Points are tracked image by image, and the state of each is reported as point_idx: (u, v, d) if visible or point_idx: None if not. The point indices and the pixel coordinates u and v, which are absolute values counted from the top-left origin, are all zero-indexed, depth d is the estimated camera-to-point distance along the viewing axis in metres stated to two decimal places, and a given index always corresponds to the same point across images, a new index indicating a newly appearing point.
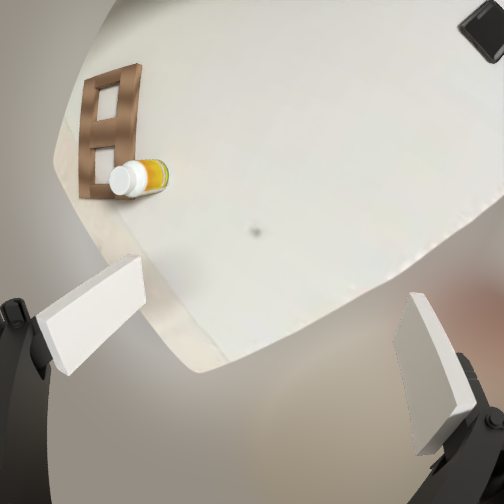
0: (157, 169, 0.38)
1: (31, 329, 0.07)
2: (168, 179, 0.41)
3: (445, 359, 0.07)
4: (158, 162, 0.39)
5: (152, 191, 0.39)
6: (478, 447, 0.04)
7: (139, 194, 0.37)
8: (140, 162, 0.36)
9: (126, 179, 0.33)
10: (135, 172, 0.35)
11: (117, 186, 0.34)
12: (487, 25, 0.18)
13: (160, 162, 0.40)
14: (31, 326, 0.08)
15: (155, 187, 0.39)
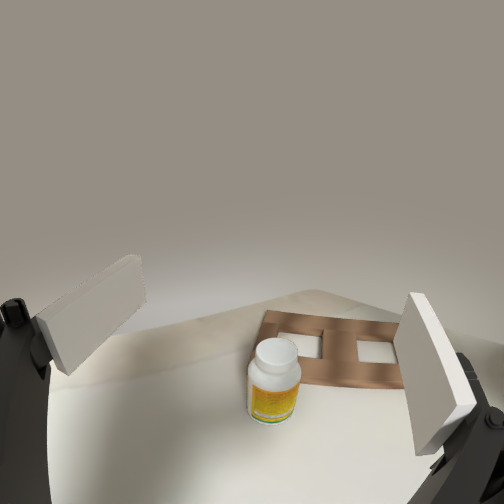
0: (280, 408, 0.25)
1: (31, 329, 0.07)
2: (261, 421, 0.26)
3: (445, 359, 0.07)
4: (289, 411, 0.26)
5: (249, 396, 0.26)
6: (478, 447, 0.04)
7: (249, 377, 0.25)
8: (295, 385, 0.25)
9: (276, 360, 0.24)
10: (283, 375, 0.24)
11: (269, 347, 0.26)
12: None
13: (288, 414, 0.26)
14: (31, 326, 0.08)
15: (253, 402, 0.26)
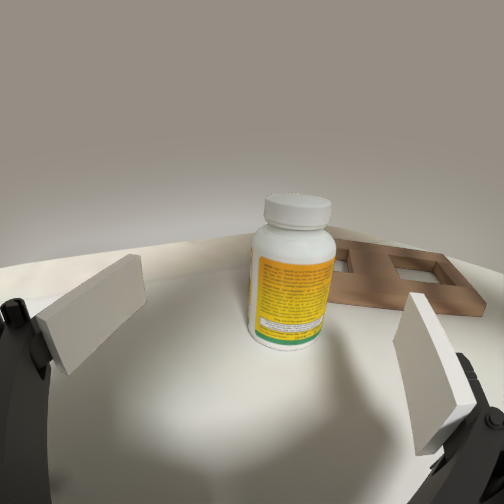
0: (304, 308, 0.16)
1: (31, 329, 0.07)
2: (271, 342, 0.18)
3: (445, 359, 0.07)
4: (317, 322, 0.17)
5: (253, 292, 0.18)
6: (478, 447, 0.04)
7: (255, 246, 0.17)
8: (330, 261, 0.16)
9: (299, 203, 0.15)
10: (310, 237, 0.16)
11: (286, 196, 0.17)
12: None
13: (315, 329, 0.18)
14: (31, 326, 0.08)
15: (260, 298, 0.17)
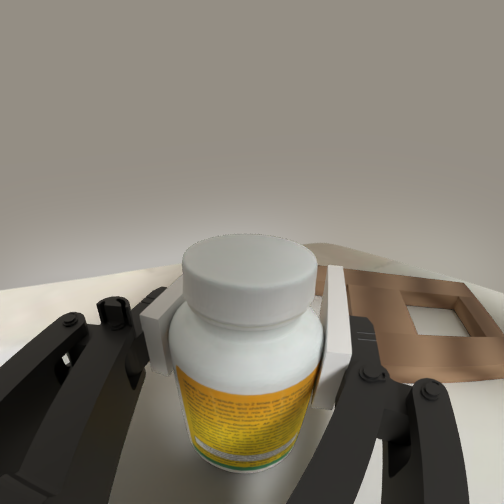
0: (260, 441, 0.08)
1: (132, 334, 0.08)
2: (216, 464, 0.09)
3: (333, 315, 0.09)
4: (287, 445, 0.09)
5: (181, 402, 0.09)
6: (355, 402, 0.06)
7: None
8: (309, 375, 0.08)
9: (242, 275, 0.07)
10: (269, 339, 0.07)
11: (227, 248, 0.09)
12: None
13: (285, 450, 0.09)
14: (132, 331, 0.08)
15: (189, 417, 0.09)
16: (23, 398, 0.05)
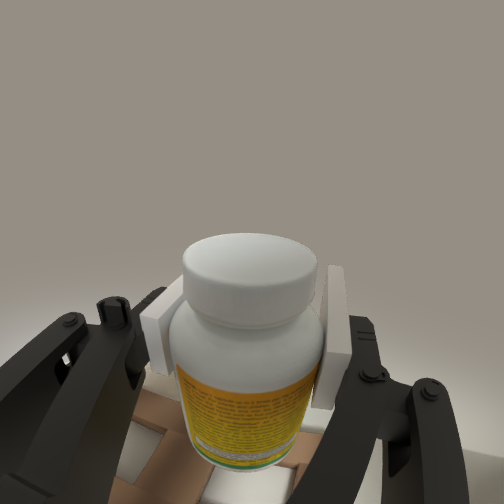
0: (260, 439, 0.08)
1: (132, 334, 0.08)
2: (216, 463, 0.09)
3: (333, 315, 0.09)
4: (287, 444, 0.09)
5: (181, 400, 0.09)
6: (355, 402, 0.06)
7: (170, 340, 0.09)
8: (309, 374, 0.08)
9: (242, 273, 0.07)
10: (268, 338, 0.07)
11: (227, 247, 0.09)
12: None
13: (284, 449, 0.10)
14: (132, 331, 0.08)
15: (189, 416, 0.09)
16: (23, 398, 0.05)
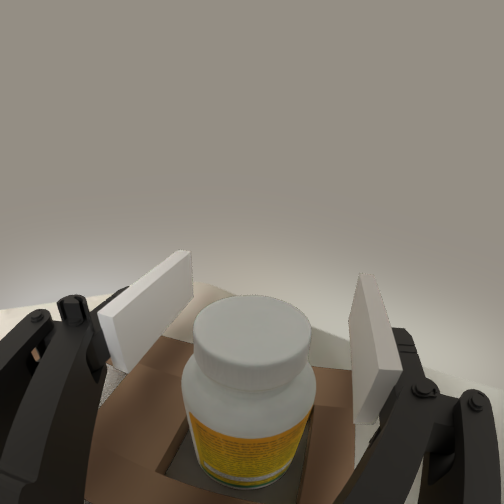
0: (260, 467, 0.09)
1: (90, 329, 0.08)
2: (221, 482, 0.10)
3: (377, 329, 0.08)
4: (283, 468, 0.10)
5: (191, 434, 0.10)
6: (406, 417, 0.05)
7: (183, 391, 0.09)
8: (302, 420, 0.09)
9: (246, 351, 0.08)
10: (268, 396, 0.08)
11: (232, 316, 0.10)
12: None
13: (281, 472, 0.10)
14: (91, 326, 0.08)
15: (199, 448, 0.10)
16: (0, 391, 0.05)
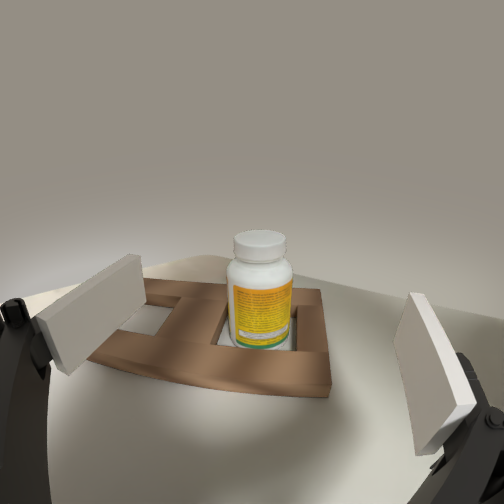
0: (271, 320, 0.21)
1: (31, 329, 0.07)
2: (249, 347, 0.23)
3: (445, 359, 0.07)
4: (283, 329, 0.23)
5: (231, 310, 0.23)
6: (478, 447, 0.03)
7: (229, 276, 0.22)
8: (288, 283, 0.21)
9: (259, 243, 0.20)
10: (270, 267, 0.21)
11: (250, 235, 0.22)
12: None
13: (283, 334, 0.23)
14: (31, 326, 0.08)
15: (237, 316, 0.22)
16: None
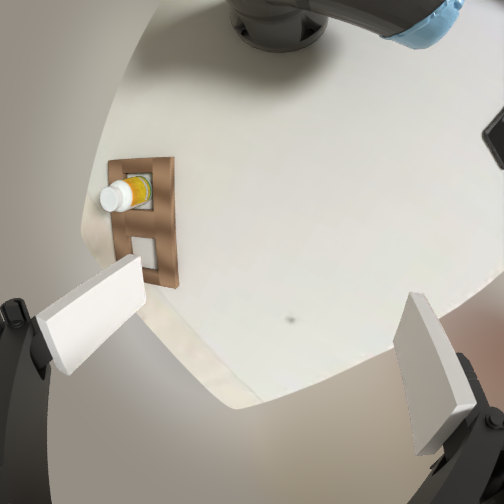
0: (140, 186, 0.44)
1: (31, 329, 0.07)
2: (151, 193, 0.47)
3: (445, 359, 0.07)
4: (141, 179, 0.45)
5: (137, 205, 0.45)
6: (478, 447, 0.04)
7: (126, 209, 0.42)
8: (125, 182, 0.41)
9: (114, 198, 0.39)
10: (121, 191, 0.40)
11: (107, 204, 0.39)
12: None
13: (143, 179, 0.45)
14: (31, 326, 0.08)
15: (140, 202, 0.45)
16: None
